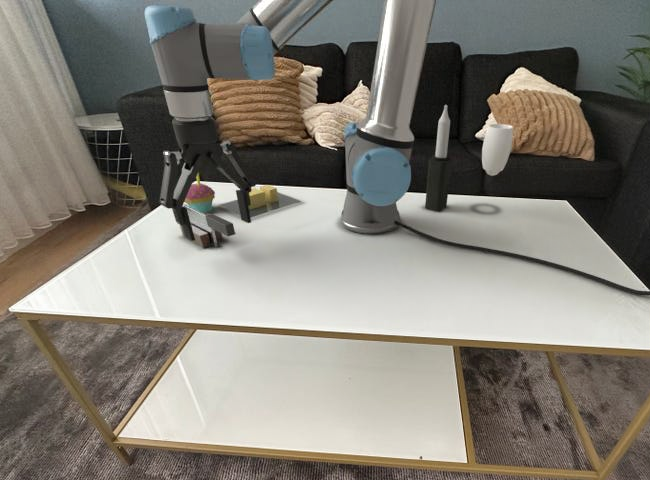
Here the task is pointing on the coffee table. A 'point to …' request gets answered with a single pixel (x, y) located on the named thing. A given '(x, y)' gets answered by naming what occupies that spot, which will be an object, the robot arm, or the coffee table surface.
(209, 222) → the cleaver
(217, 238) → the chocolate bar
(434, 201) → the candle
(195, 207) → the cupcake
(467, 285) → the coffee table surface
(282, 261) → the coffee table surface
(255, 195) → the butter
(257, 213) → the plate
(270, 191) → the butter pat
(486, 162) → the cup
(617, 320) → the coffee table surface
